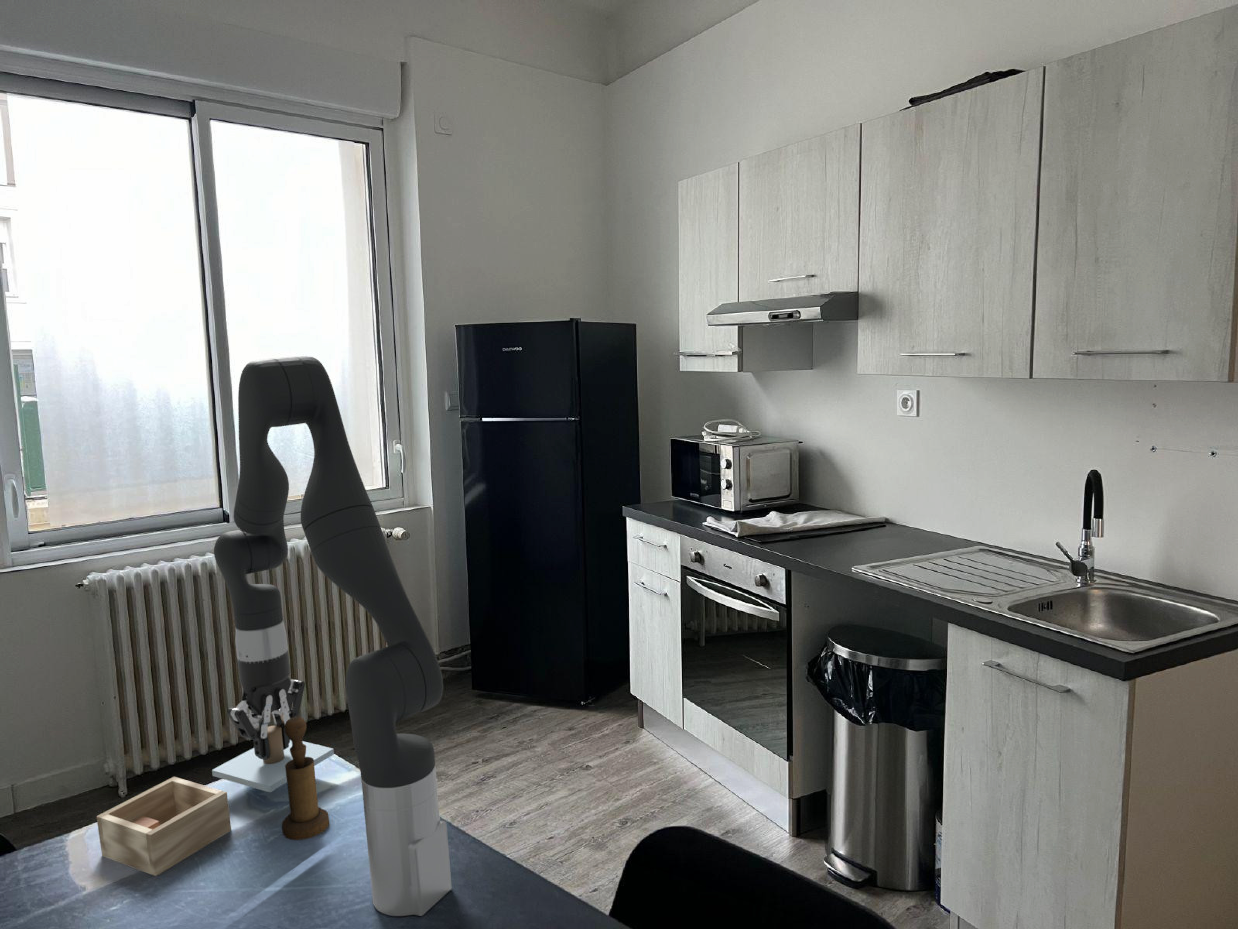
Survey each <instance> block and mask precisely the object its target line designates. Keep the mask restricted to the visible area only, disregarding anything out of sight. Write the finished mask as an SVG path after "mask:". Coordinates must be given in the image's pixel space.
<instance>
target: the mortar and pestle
mask: <svg viewBox="0 0 1238 929" xmlns="http://www.w3.org/2000/svg"><path fill="white" fill-rule="evenodd" d="M284 730H285V733H286V735H287V736H288V737H289V739H290V740H291V741H292V747H291V748H290V753H291V756H292V758H293V760H291V761H289V762H288V763H286V765H285V769H286V777H287V783H286V784H287V793H288V804H289V814H288V815H287V816H285V818H284V819H283V821H282V822H281V832H282V836H283V837H284V838H286V839H288V840H291V841H301V840H302V841H303V840H308V839H310V838H313V837H316V836H318V835H320V834H322V833H323V832H325V831H326V830H327V829H328V827H329V825H330V815H329V813H328V811H326V810H325V809H323V808H322V807H320V806H319V801H318V793H317V782H316V781H317V780H316V771H315V770H316V769H315V766H314V759H313V758H311V757H305V754H306V745H304V744H303V742H302V741H303V739H304V736H305V733H306V731H307V721H305V719H304V718H302V717H301V716H298V717H293V718H290V719H289V720H288V721H287V722H286V724H285V727H284Z"/></svg>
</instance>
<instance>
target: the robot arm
mask: <svg viewBox="0 0 1238 929" xmlns="http://www.w3.org/2000/svg"><path fill="white" fill-rule="evenodd" d="M237 399H238V401H237V402H238V403H237V405H238V406H237V407H238V408H237V409H238V410H237V411H238V444H239V446H238V449H239V450H238V451H239V453H238V454H239V474H238V475H239V477H238V484H237V490H236V496H235V502H234V508H233V522H234V524H235V525H236V527H237V528H238V529H236V530H235V529H234V530H231V531H230V530H229V531H227V532H223V533H222V534H220V535H219V536H218V537H217V539H216V541H215V544H214V547H213V556H214V559H215V563H216V565H217V567H218V569H219V571H220V573H221V575H222V577H223V580H224V582H225V585H226V587H227V589H228V592H229V595H230V599H231V602H232V608H233V617H234V619H233V620H234V624H235V625H234V626H235V642H234V643H235V651H236V660H237V667H238V668H237V669H238V675H239V676H238V677H239V683H240V685H241V688H242V695H241V701H240V702H239V703H238V704H237V705H236V706H235V707H229V708H228V709H227V713H226V714H227V715H228V717H229V719H230V721H231V722H232V724H233V725H234V728H236V731H238V734H239V735H240V737H241V738H244V739H249V740H253V741H252V743H253V748H254V750H255V755H256V756H257V757H258V758H260V759H263V760H266V759H268V758H270V750H269V740H268V737H267V728H268V727H269V723H270V722H271V715H272V719H273V722H274V724H276V725H275V726H280V727H281V730H282V739H283V748H284V750H285V749H286V748H288V747H289V743H290V739H289V737H288V736H287V735H286V733H285V730H284V727H285V724H286V722H287V721H288V720H289V719H290V718H293V717H299V715H300V711H301V710H300V709H301V704H302V700H303V694H304V693H305V692H304V691H305V687H306V686H305V685H306V682H305V681H303V680H300V679H294V678H290V674H291V667H290V655H289V647H288V638H287V636H288V635H287V632H286V628H285V623H284V614H283V606H282V598H281V592H280V589H279V587H277V586H276V585H273V584H270V583H269V584H268V583H256V584H255V583H249V582H248V580H247V577H246V575H248V574H254V573H260V572H264V571H269V570H273V569H276V568H278V567H280V566H281V565H283V563H284V562H285V561H286V559H287V558H288V555H289V545H288V541H287V538H286V533H285V523H284V522H285V520H284V518H285V516H284V515H285V511H286V507H287V504H288V498H289V491H290V483H289V481H290V480H289V477H288V474H287V472H286V470H285V468H284V466H283V465H282V463H281V462H280V460H279V459H278V457H277V456H276V454H275V453H274V452H273V450H272V449H271V446H270V445H269V442H268V437H269V436H268V435H269V433H270V432H269V431H270V430H271V428H279V427H286V426H287V427H288V426H294V425H303V424H305V425H307V427H308V430H309V432H310V435H311V439H312V443H313V451H314V454H313V456H314V457H313V461H312V462H313V463H312V467H311V472H310V475H309V478H308V481H307V484H306V488H305V489H304V490H305V491H304V494H303V497H302V501H301V507H300V523H301V528H302V530H303V532H304V535H305V538H306V541H307V543H308V544H307V545H308V546H309V549H310V552H311V556H312V557H313V559H314V562H315V564H316V566H317V568H318V569H319V570H320V571H321V573H322V574H323V575H325V577H326V578H328V579H329V581H331V582H332V583H333V584H334V585H335V586H336V587H338V588H339V589H340V590H342V591H343V592H344V593H345V594H347V595H348V596H349V597H350V598H352V599H353V600H354V601H355V602H357V603H358V604H359V605H360V606H362V608H364V609H365V610H366V612H368V614H369V615H370V616H371V618H372V619H373V621H374V622H375V623H376V625H377V627H378V629H379V630H380V632H381V635H382V636H383V638H384V640H385V643H386V645H387V646H386V647H383V648H380V649H377V650H374V651H371V652H368V653H365V654H362V655H360V656H357V657H356V658H353V659H352V660H351V661H350V663H349V665H348V666H347V669H346V673H345V693H346V701H347V707H348V714H349V718H350V719H349V720H350V725H351V732H352V733H351V734H352V739H353V741H352V742H353V746H354V752H355V755H356V758H357V762H358V765H359V770H360V778H361V779H360V780H361V789H362V790H361V791H362V801H363V812H364V822H365V823H364V824H365V833H366V834H365V835H366V843H367V854H368V864H369V866H368V867H369V874H370V886H371V894H372V896H371V898H372V904H373V906H374V907H375V909H376V910H377V911H378V912H380V913H381V914H384V915H387V916H392V917H406V916H411V915H413V916H414V915H415V916H420V917H422V916H424V915H425V914H426V913H427V912H428V911H429V910H430V909H431V908H432V907H433V906H435V905H436V903H438V902H439V901H440V900H442V898H444V896H445V895H446V894H448V892H450V891H451V890H452V886H453V885H452V878H451V877H452V875H451V867H450V866H451V863H450V851H449V838H448V828H447V827H448V826H447V822H446V821H444V820H442V819H441V818H440V808H439V806H440V804H439V795H438V793H439V792H438V782H437V769H436V768H437V767H436V757H435V749H434V745H433V742H431V740H429V739H428V738H426V737H424V736H422V735H418V734H414V733H413V734H412V733H397V727H396V723H398V722H401V721H403V720H407V719H408V718H410V717H411V718H412V716H415V715H418V714H421V713H423V712H425V711H427V710H430V709H432V708H433V707H435V706H436V705H438V704H439V703H440V702H441V699H442V696H443V693H444V678H443V674H442V668H441V667H440V663H439V660H438V658H437V655H436V653H435V651H434V648H433V647H432V646H433V645H432V644H431V642H430V640H429V638H428V636H427V634H426V632H425V629H424V628H423V626H422V623H421V622H420V620H419V618H418V616H417V614H416V611H415V610H414V608H413V606H412V603H411V601H410V599H409V597H408V595H407V593H406V592H407V591H405V589H404V586H403V584H402V581H401V579H400V577H399V573H398V571H397V569H396V566H395V563H394V561H393V558H392V556H391V553H390V551H389V548H388V544H387V541H386V539H385V536H384V533H383V529H382V527H381V525H380V521H379V519H378V517H377V513H376V512H375V511H376V510H375V509H374V506H373V504H372V501H371V499H370V497H369V494H368V492H367V489H366V487H365V485H364V482H363V480H362V477H361V474H360V472H359V469H358V466H357V464H356V461H355V457H354V455H353V452H352V450H351V446H350V444H349V440H348V436H347V433H346V429H345V426H344V423H343V419H342V415H341V412H340V408H339V405H338V401H337V397H336V393H335V390H334V387H333V384H332V382H331V379H330V376H329V374H328V372H327V370H326V367H325V366H324V365H323V363H322V362H321V361H319V359H317V358H316V357H313V356H307V355H306V356H304V355H302V356H286V357H275V358H274V357H273V358H263V359H256V360H253V361H249V362H248V363H247V364H246V365H245V366H244V367H243V369H242V370H241V373H240V377H239V385H238V394H237ZM248 710H249V711H248Z"/></svg>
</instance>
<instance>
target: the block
mask: <svg viewBox="0 0 1238 929" xmlns="http://www.w3.org/2000/svg"><path fill="white" fill-rule="evenodd" d="M132 823H135V824H138V825H141V826H144V827H147V828H149V829H152V830H153V829H155V828H156V827H158V826H160V824H159V821H157V820H154V819H151V818H148V817H145V816H143V817H141V818H139V819H137V820H136V821H134V822H132Z"/></svg>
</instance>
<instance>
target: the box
mask: <svg viewBox="0 0 1238 929" xmlns="http://www.w3.org/2000/svg"><path fill="white" fill-rule="evenodd" d="M228 798H229V797H228V792H227V791H224V790H220V789H217V788H214V787H211V786H208V785H205V784H204V785H203V784H200V783H197V782H193V781H191V780H186V779H183V778H180V777H177V776H172V777H171V778H168V779H166V780H165V781H163V782H161V783H159V784H156V785H154V786H152V787H151V788H149V789H147V790H145V791H143V792H141V793H139V794H137V795H135V796H134V797H131V798H129V799H128V800H125V801H124V802H122V803H121V802H120V804H117V805H116V806H114V807H112V808H110V809H108V810H106V811H103V813H100V814H98V815H97V816H96V824H97V828H98V829H97V831H98V835H99V836H98V837H99V844H100V851H101V856H102V857H105V858H107V859H109V860H112V861H115V862H117V863H120V864H123V865H126V866H128V867H131V868H133V869H136V870H139V871H141V872H144V873H146V874H148V875H152V876H154V877H157V876H159V875H161V874H163V873H164V872H165V871H167V870H169V869H170V868H171V867H174V866H175V865H177V864H178V863H180V862H182V861H183V860H185V859H187V858H188V857H189V856H191V855H194V854H195V853H196V852H198V851H199V850H202V849H204V848H205V847H207V846H208V845H210V844H211V843H213V842H214V841H216V840H218V839H219V838H221V837H223V836H224V835H226V834H227V833H229V832H231V831H232V823H231V816H230V806H229V800H228ZM191 807H192V808H191ZM188 809H189V810H188ZM186 810H187V811H186ZM184 811H185V812H184ZM179 814H180V815H179ZM177 815H178V816H177ZM143 816H145V817H148V818H151V819H154V820H157V821H159V824H160V826H158V827H156V828H155V829H153V830H152V829H149V828H147V827H144V826H141V825H138V824H135V823H132V822H134V821H136V820H137V819H139V818H141V817H143ZM175 816H176V817H175Z"/></svg>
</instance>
